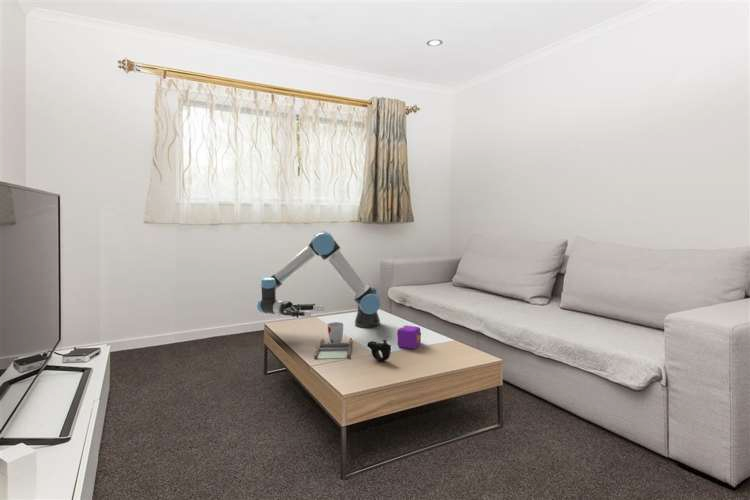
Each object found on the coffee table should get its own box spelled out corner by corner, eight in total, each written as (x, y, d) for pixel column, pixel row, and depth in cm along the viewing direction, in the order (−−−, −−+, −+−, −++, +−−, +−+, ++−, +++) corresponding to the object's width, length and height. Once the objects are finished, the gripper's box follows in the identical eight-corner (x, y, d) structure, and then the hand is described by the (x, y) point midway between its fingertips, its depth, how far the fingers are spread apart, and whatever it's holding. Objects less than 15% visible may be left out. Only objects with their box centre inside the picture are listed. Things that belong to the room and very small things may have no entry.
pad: (347, 351, 203) (347, 350, 203) (346, 358, 193) (346, 357, 193) (319, 351, 203) (319, 351, 203) (316, 358, 193) (316, 358, 193)
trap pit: (348, 345, 211) (348, 343, 211) (347, 351, 203) (347, 348, 203) (321, 346, 211) (321, 343, 211) (319, 351, 203) (319, 348, 203)
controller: (386, 364, 184) (386, 342, 183) (366, 359, 192) (365, 337, 191) (393, 362, 187) (392, 340, 186) (372, 356, 195) (371, 335, 194)
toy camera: (423, 342, 215) (423, 323, 214) (417, 350, 202) (417, 330, 201) (403, 340, 218) (403, 321, 218) (396, 348, 206) (395, 328, 205)
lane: (351, 340, 220) (351, 337, 220) (349, 358, 193) (348, 355, 193) (321, 341, 220) (321, 338, 220) (314, 359, 193) (314, 355, 193)
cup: (328, 341, 220) (327, 322, 219) (343, 340, 220) (343, 321, 219) (327, 346, 212) (327, 326, 211) (343, 345, 212) (343, 326, 211)
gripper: (296, 309, 238) (329, 313, 229) (269, 320, 215) (304, 324, 206) (296, 296, 237) (329, 299, 228) (268, 305, 214) (303, 309, 206)
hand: (317, 311), depth 217 cm, fingers open, 13 cm apart
